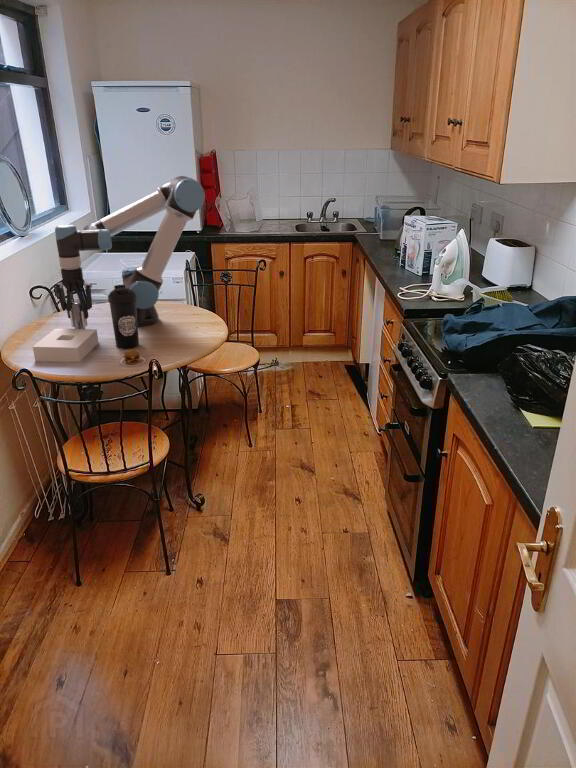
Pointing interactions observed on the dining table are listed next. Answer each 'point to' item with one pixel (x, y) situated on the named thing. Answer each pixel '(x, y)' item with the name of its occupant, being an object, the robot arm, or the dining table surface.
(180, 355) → the dining table surface
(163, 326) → the dining table surface
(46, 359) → the socket block
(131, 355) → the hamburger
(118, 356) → the dining table surface
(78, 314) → the steel pin
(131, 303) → the water bottle
